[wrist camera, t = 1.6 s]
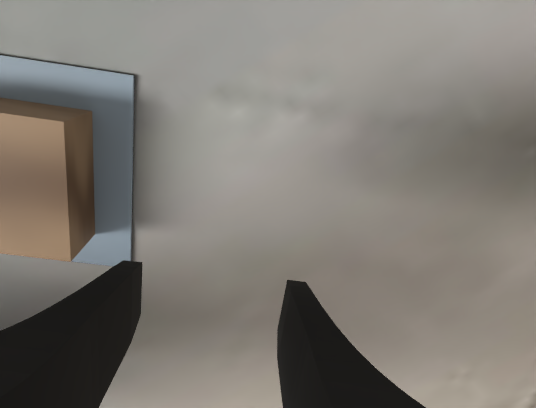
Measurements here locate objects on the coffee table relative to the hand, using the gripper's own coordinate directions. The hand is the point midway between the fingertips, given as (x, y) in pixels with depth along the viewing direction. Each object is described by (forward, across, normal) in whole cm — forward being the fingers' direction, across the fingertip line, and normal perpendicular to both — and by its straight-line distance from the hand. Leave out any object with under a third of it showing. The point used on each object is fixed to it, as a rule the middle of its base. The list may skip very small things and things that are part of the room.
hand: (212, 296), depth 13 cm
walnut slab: (+9, +11, 0) cm, 14 cm away
